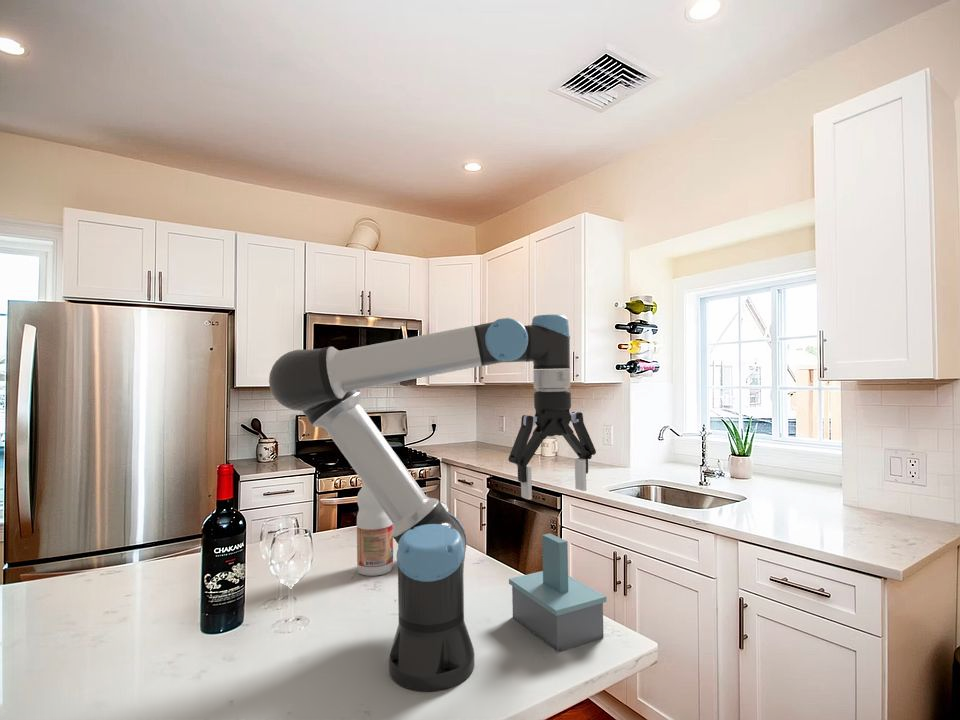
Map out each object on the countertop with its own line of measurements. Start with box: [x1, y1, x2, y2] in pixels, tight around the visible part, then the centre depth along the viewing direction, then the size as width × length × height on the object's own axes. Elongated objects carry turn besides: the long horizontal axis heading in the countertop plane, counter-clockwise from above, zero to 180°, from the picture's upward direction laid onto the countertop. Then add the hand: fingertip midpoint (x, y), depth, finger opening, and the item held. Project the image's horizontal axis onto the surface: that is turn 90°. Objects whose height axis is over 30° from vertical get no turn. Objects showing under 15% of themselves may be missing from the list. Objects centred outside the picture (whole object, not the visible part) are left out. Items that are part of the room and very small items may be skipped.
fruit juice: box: [356, 483, 394, 577], centre depth 139 cm, size 9×9×28 cm
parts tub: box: [511, 585, 604, 653], centre depth 106 cm, size 16×11×7 cm
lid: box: [508, 533, 607, 616], centre depth 107 cm, size 17×12×11 cm
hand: (554, 494), depth 107 cm, fingers open, 13 cm apart
